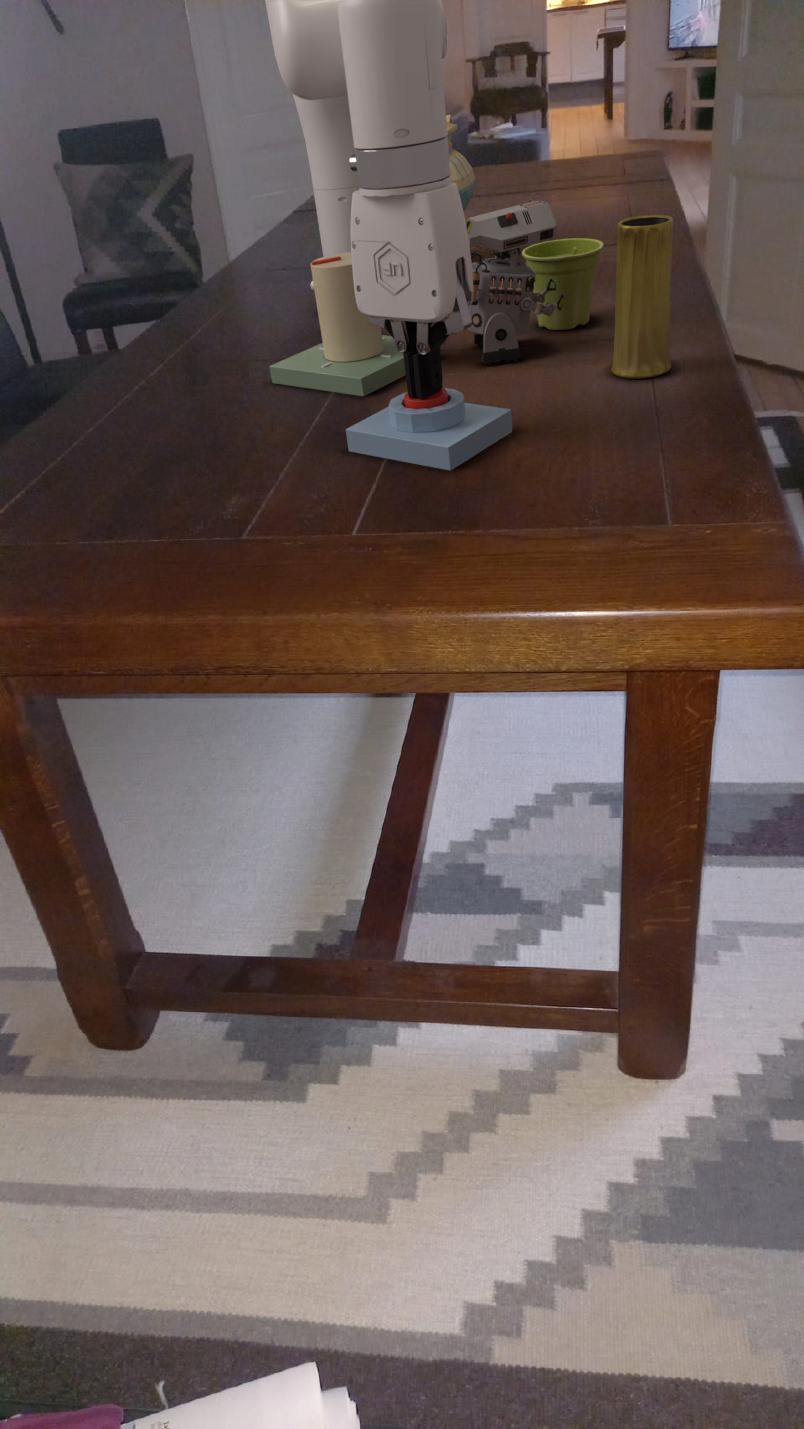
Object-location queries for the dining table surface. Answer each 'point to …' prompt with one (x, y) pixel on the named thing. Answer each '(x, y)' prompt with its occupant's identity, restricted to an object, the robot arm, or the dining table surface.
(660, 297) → the vase
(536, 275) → the plant pot
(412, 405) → the button
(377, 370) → the swivel stand
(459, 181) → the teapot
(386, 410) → the button box
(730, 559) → the dining table surface
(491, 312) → the figurine
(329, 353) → the cream cylinder red stripe
